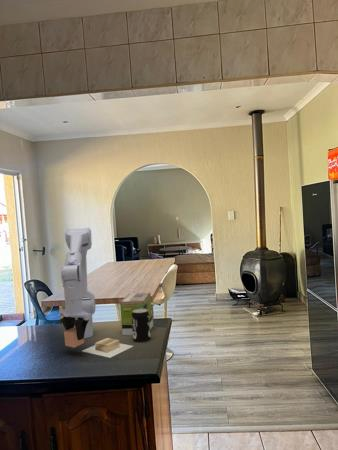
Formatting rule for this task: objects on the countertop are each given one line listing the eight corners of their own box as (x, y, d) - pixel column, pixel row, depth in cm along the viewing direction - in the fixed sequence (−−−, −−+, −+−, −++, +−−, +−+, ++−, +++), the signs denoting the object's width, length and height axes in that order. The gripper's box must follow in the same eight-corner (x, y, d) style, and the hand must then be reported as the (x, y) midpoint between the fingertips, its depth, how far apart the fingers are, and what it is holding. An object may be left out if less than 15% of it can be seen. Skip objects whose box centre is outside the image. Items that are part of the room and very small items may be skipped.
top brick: (65, 345, 127) (63, 331, 126) (75, 341, 130) (74, 327, 130) (74, 347, 124) (72, 333, 124) (84, 342, 128) (82, 328, 127)
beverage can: (148, 345, 134) (146, 312, 134) (131, 345, 135) (128, 312, 135) (152, 339, 140) (150, 308, 140) (136, 339, 142) (134, 308, 142)
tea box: (131, 326, 159) (128, 292, 159) (153, 326, 158) (151, 291, 157) (121, 338, 144) (119, 300, 144) (146, 337, 143) (144, 299, 143)
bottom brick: (95, 349, 129) (95, 342, 129) (107, 344, 134) (107, 337, 134) (107, 352, 126) (107, 345, 126) (119, 347, 131) (119, 340, 131)
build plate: (81, 353, 129) (81, 350, 129) (105, 343, 139) (105, 340, 139) (110, 360, 121) (110, 357, 121) (133, 348, 131) (133, 346, 131)
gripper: (50, 300, 128) (53, 338, 129) (78, 303, 120) (81, 345, 120) (66, 295, 134) (69, 332, 134) (94, 299, 126) (97, 338, 126)
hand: (75, 338), depth 128 cm, fingers closed on top brick, 4 cm apart
